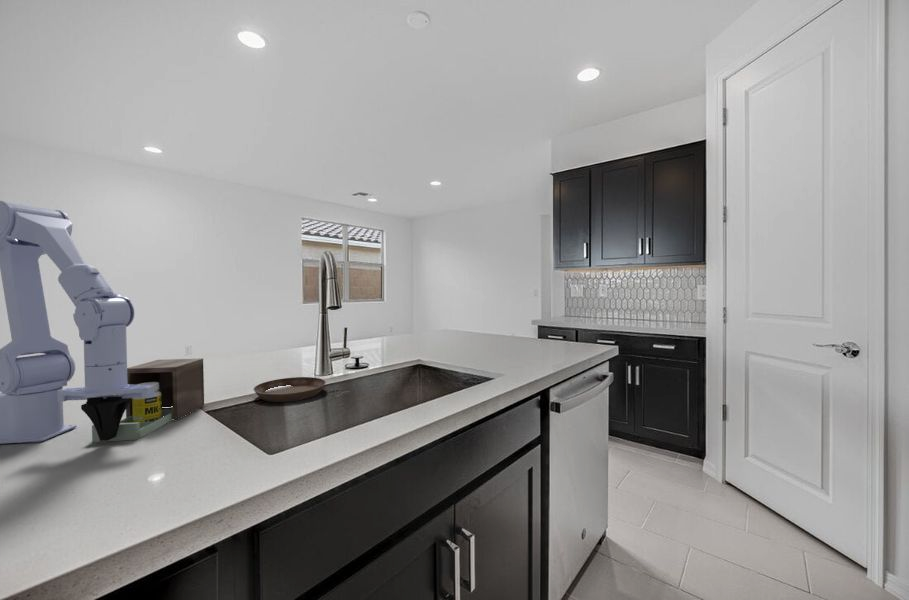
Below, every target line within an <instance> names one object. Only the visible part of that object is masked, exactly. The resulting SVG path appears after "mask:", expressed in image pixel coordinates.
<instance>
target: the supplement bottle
mask: <svg viewBox="0 0 909 600" xmlns="http://www.w3.org/2000/svg"><path fill="white" fill-rule="evenodd" d="M137 385H154V396H152V397H149V398H132V407H133V422H154V421H156V420H158V419H160V418H162V403H161V392H160V391H158V390H159V383H158V382H147V383H141V384H137Z"/></svg>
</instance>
